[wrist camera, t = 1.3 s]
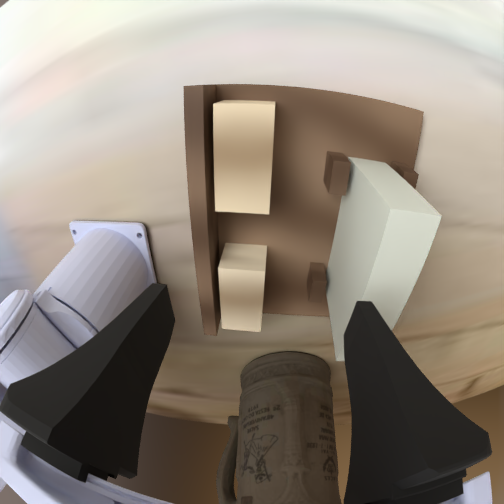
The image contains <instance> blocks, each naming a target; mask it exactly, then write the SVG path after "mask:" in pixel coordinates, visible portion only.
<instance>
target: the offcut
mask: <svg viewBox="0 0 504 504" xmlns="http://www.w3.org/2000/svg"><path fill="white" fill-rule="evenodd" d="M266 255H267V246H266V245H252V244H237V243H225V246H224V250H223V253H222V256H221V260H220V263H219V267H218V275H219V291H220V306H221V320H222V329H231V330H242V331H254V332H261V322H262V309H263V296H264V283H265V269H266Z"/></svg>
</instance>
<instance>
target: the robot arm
mask: <svg viewBox="0 0 504 504" xmlns="http://www.w3.org/2000/svg"><path fill="white" fill-rule="evenodd" d="M69 226H70V230H71V233H72V236H73V240H74V243H75V246H74V247H73V248H72V249H71V250H70V251H69V252H68V253H67V255H66V256H65V257H64V258H63V259H62V260H61V261H60V262H59V264H58V265H57V266H56V267H55V268H54V269H53V271H52V272H51V273H50V274H49V275H48V277H47V278H46V279H45V280H44V281H43V283H42V284H41V285H40V286H39V288H38V289H37V290H36V291H35V293H34V294H33V295H32V294H31V292H30V291H29V290H26V289H25V290H15V291H14V292H12V293H11V294H10V295H9V296H8V297H7V298H6V299H5V300H4V301H3V302H2V303H1V304H0V492H1V491H2V489H3V488H4V487H5V485H6V484H8V485H9V486H10V487H11V488H12V489H13V490H14V491H15V492H16V493H17V494H18V495H19V496H20V497H21V498H22V499H23V500H24V501H25V502H26V503H28V504H121V503H122V504H173V503H169V502H165V501H162V500H158V499H155V498H151V497H148V496H145V495H142V494H139V493H136V492H133V491H130V490H128V489H125V488H122V487H120V486H117V485H115V484H112V483H110V482H108V481H107V478H108V476H110V477H112V478H115V479H116V478H117V475H118V474H119V475H121V476H124V477H127V478H129V479H130V478H133V477H135V476H137V467H138V455H139V447H140V440H141V433H142V427H143V423H144V418H145V413H146V409H147V404H148V400H149V396H150V393H151V390H152V387H153V384H154V381H155V379H156V376H157V374H158V371H159V368H160V366H161V363H162V361H163V358H164V355H165V353H166V350H167V348H168V345H169V342H170V339H171V335H172V331H173V327H174V323H175V318H174V314H173V310H172V306H171V301H170V297H169V293H168V288H167V285H165V284H157V280H156V276H155V272H154V267H153V263H152V258H151V253H150V248H149V243H148V238H147V233H146V228H145V226H144V225H143V224H142V223H135V222H106V221H72V222H71V223H70V225H69ZM139 233H141V234H142V236H140V235H139ZM343 336H344V359H345V366H346V373H347V380H348V387H349V394H350V402H351V412H352V438H351V456H350V465H349V474H348V481H347V487H346V492H345V497H344V504H492V492H491V482H490V473H489V472H486V473H484V474H482V475H479V476H477V477H475V478H473V479H471V480H468V481H466V482H464V483H463V482H462V478H463V477H466V468H468V467H471V466H473V465H474V464H476V463H478V462H480V461H482V460H484V459H486V458H487V457H489V456H490V455H491V453H492V450H491V444H490V439H489V435H488V432H486V431H485V430H483V429H482V428H481V427H479V426H478V425H476V424H475V423H474V422H472V421H471V420H470V419H468V418H467V417H466V416H465V415H463V414H462V413H461V412H460V411H459V410H458V409H456V408H455V407H454V406H453V405H452V404H451V403H450V402H449V401H448V400H447V399H446V398H445V397H444V396H443V395H442V394H441V393H440V392H439V391H438V390H437V389H436V388H435V387H434V386H433V385H432V383H431V382H430V381H429V380H428V379H427V378H426V377H425V375H424V374H423V373H422V372H421V371H420V369H419V368H418V367H417V366H416V364H415V363H414V362H413V360H412V359H411V358H410V356H409V355H408V354H407V352H406V351H405V350H404V348H403V347H402V345H401V344H400V342H399V341H398V340H397V338H396V337H395V335H394V334H393V332H392V331H391V329H390V328H389V326H388V325H387V323H386V322H385V320H384V319H383V317H382V316H381V314H380V313H379V311H378V310H377V308H376V307H375V306H374V304H373V303H372V301H357V302H356V304H355V307H354V310H353V312H352V315H351V318H350V320H349V323H348V325H347V328H346V330H345V333H344V335H343Z"/></svg>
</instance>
